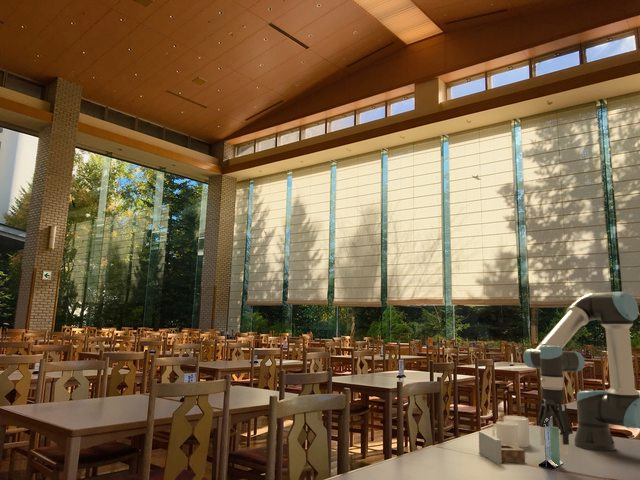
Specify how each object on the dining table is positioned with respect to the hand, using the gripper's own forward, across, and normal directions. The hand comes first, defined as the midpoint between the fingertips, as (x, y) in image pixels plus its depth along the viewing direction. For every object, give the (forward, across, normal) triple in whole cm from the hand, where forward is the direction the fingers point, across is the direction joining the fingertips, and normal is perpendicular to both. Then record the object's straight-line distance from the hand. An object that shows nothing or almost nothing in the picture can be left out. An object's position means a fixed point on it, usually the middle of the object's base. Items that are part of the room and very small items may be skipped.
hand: (554, 449), depth 184 cm
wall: (+5, -9, -20) cm, 23 cm away
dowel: (+5, 0, 0) cm, 5 cm away
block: (+5, -9, -14) cm, 18 cm away
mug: (+6, -35, +2) cm, 35 cm away
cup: (+6, -25, -8) cm, 27 cm away
